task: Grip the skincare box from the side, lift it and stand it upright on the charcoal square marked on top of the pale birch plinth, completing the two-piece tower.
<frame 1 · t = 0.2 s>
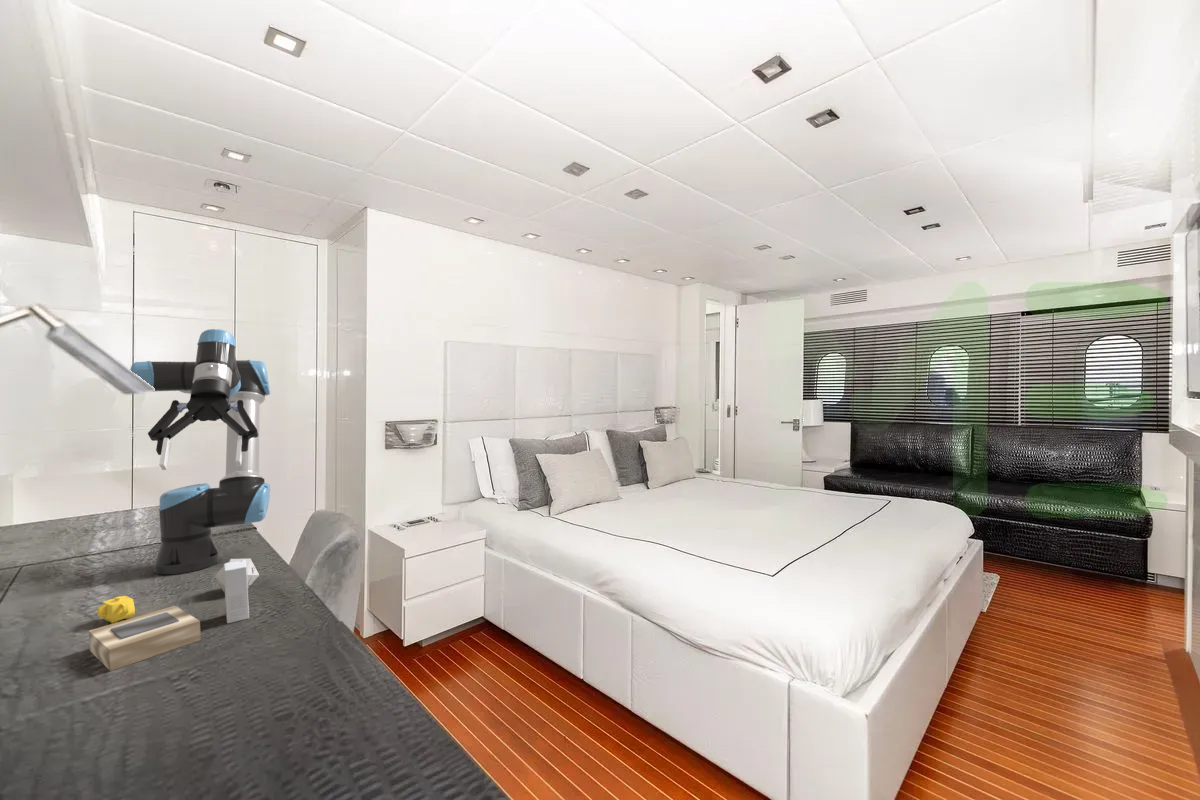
hand: (201, 465, 117), 35 cm above the table, tool tilted 35°, fingers open, 13 cm apart
teapot: (115, 621, 119), on the table
plinth: (146, 645, 107), on the table
skincare box: (237, 617, 119), on the table
die: (238, 590, 135), on the table
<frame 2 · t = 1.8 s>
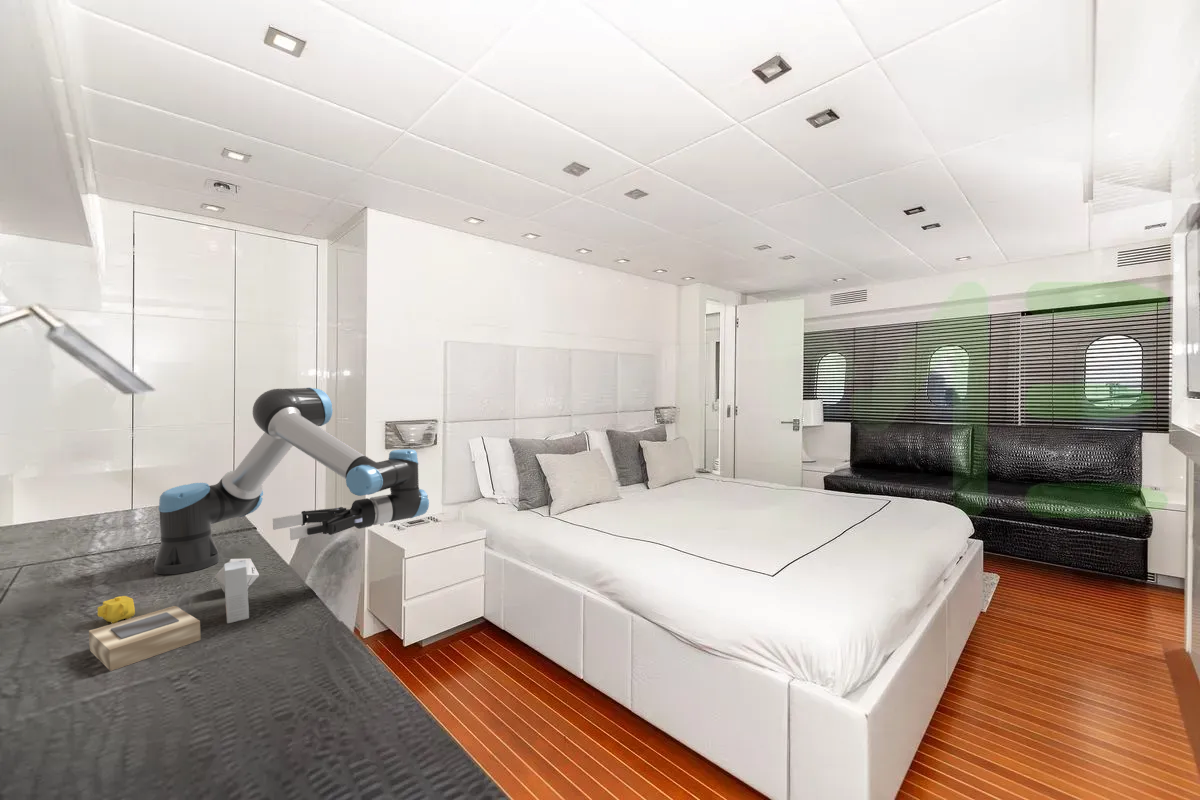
hand: (281, 529, 126), 18 cm above the table, tool horizontal, fingers open, 13 cm apart
nothing on the table moved.
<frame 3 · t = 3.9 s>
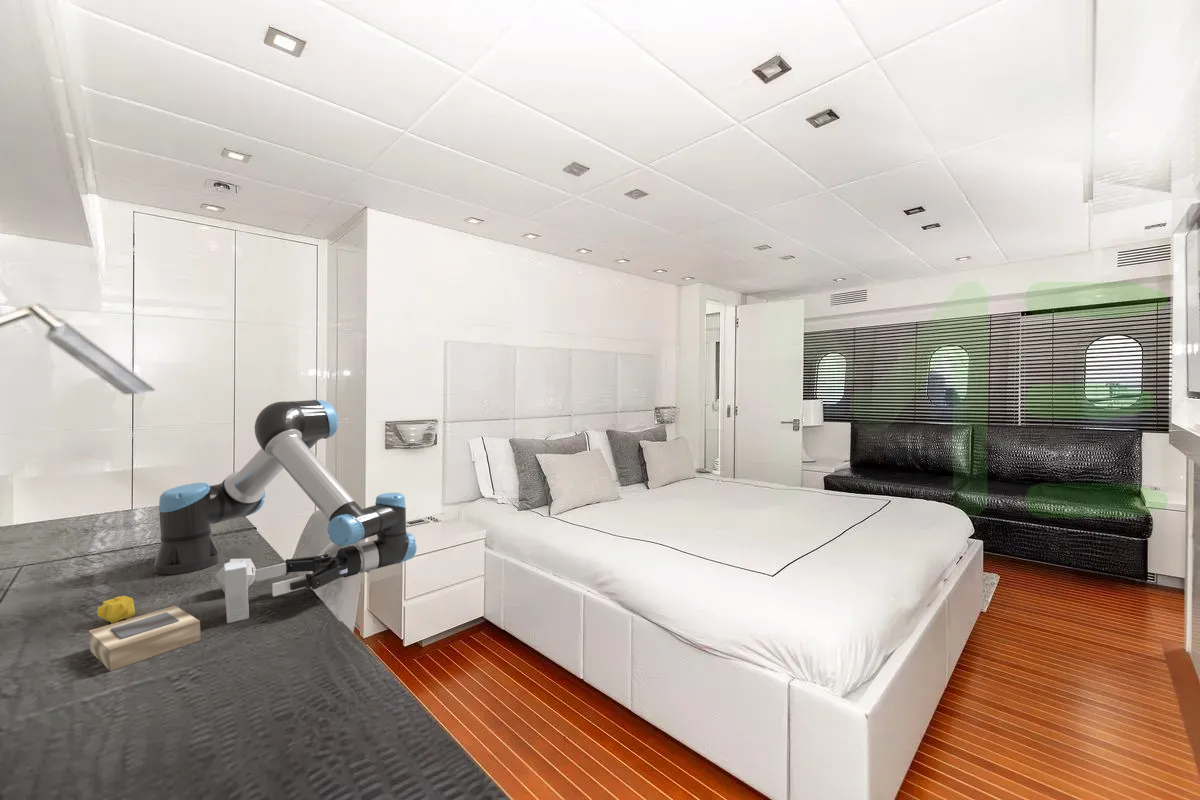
hand: (263, 582, 123), 6 cm above the table, tool horizontal, fingers open, 13 cm apart
nothing on the table moved.
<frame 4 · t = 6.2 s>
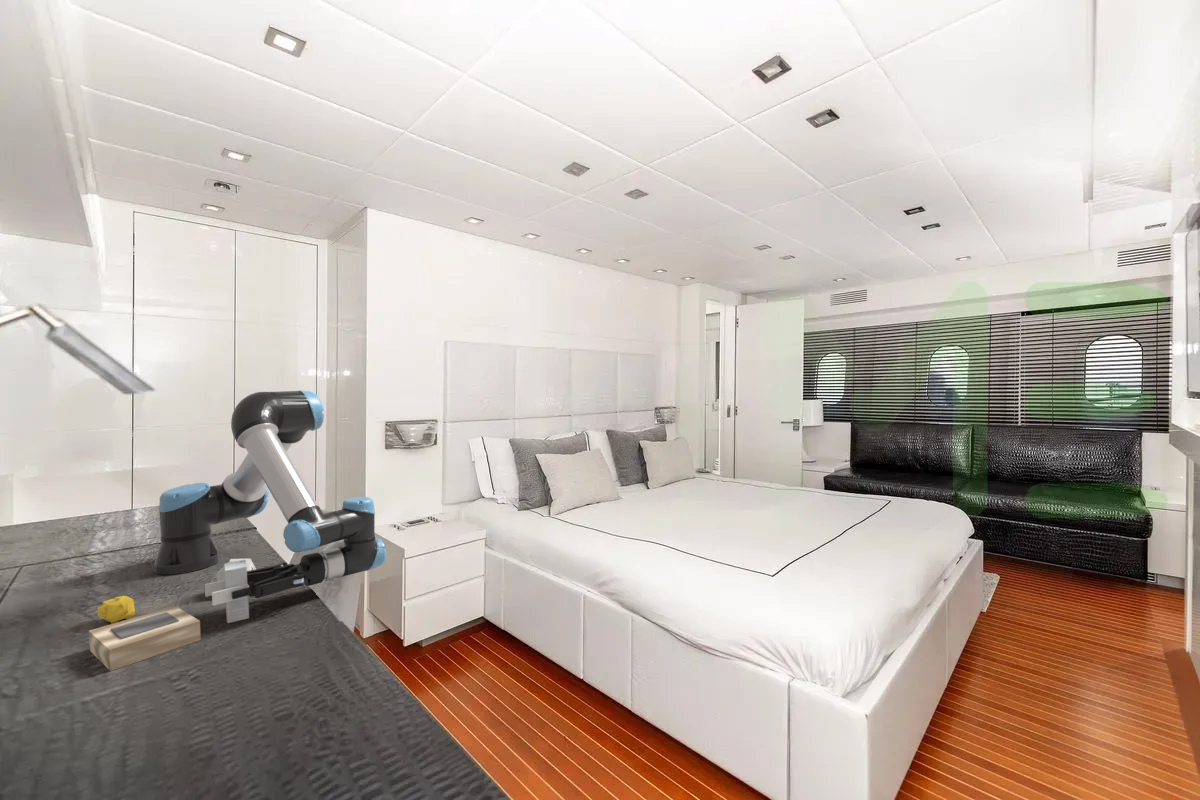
hand: (209, 594, 116), 7 cm above the table, tool horizontal, fingers closed on skincare box, 6 cm apart
skincare box: (237, 617, 119), on the table, touching gripper
everything else where it was.
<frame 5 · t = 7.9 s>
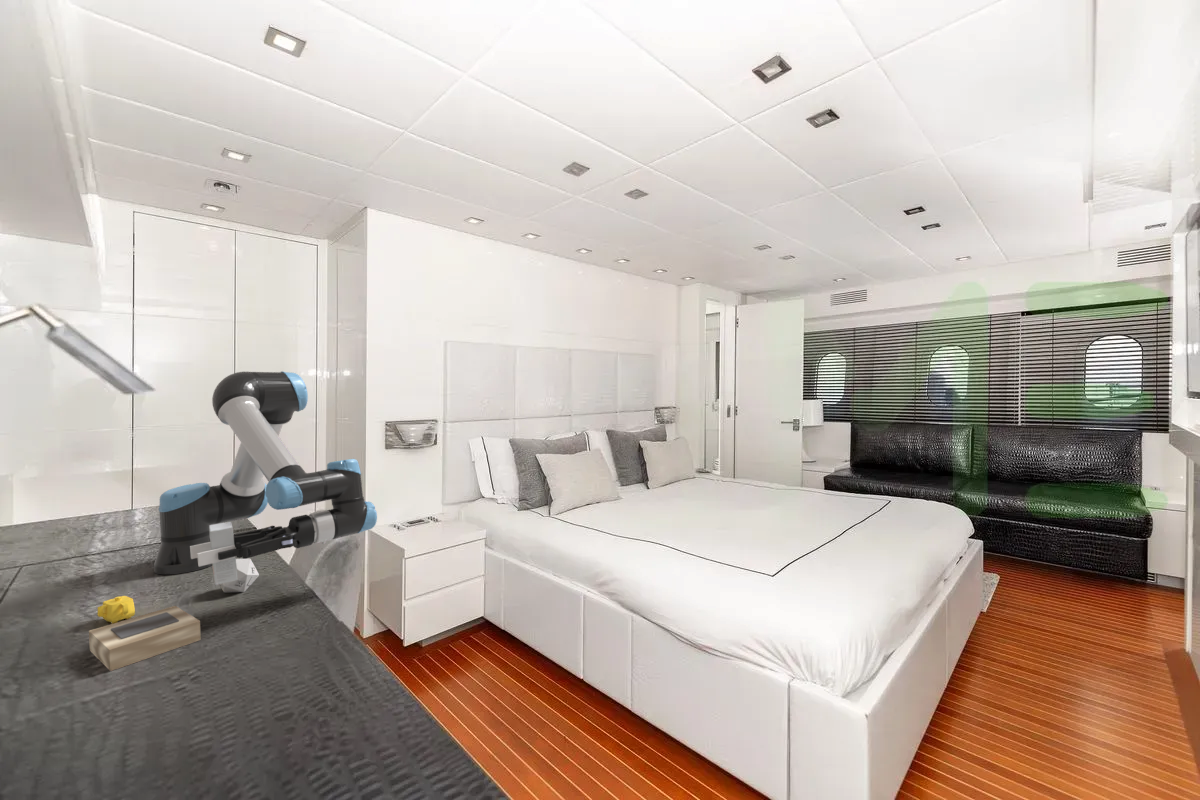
hand: (194, 556, 112), 16 cm above the table, tool horizontal, fingers closed on skincare box, 6 cm apart
skincare box: (225, 579, 117), point 9 cm above the table, touching gripper
everything else where it was.
when the fingers open (13 cm above the table, at t = 10.0 s): skincare box drops 1 cm, resting on plinth.
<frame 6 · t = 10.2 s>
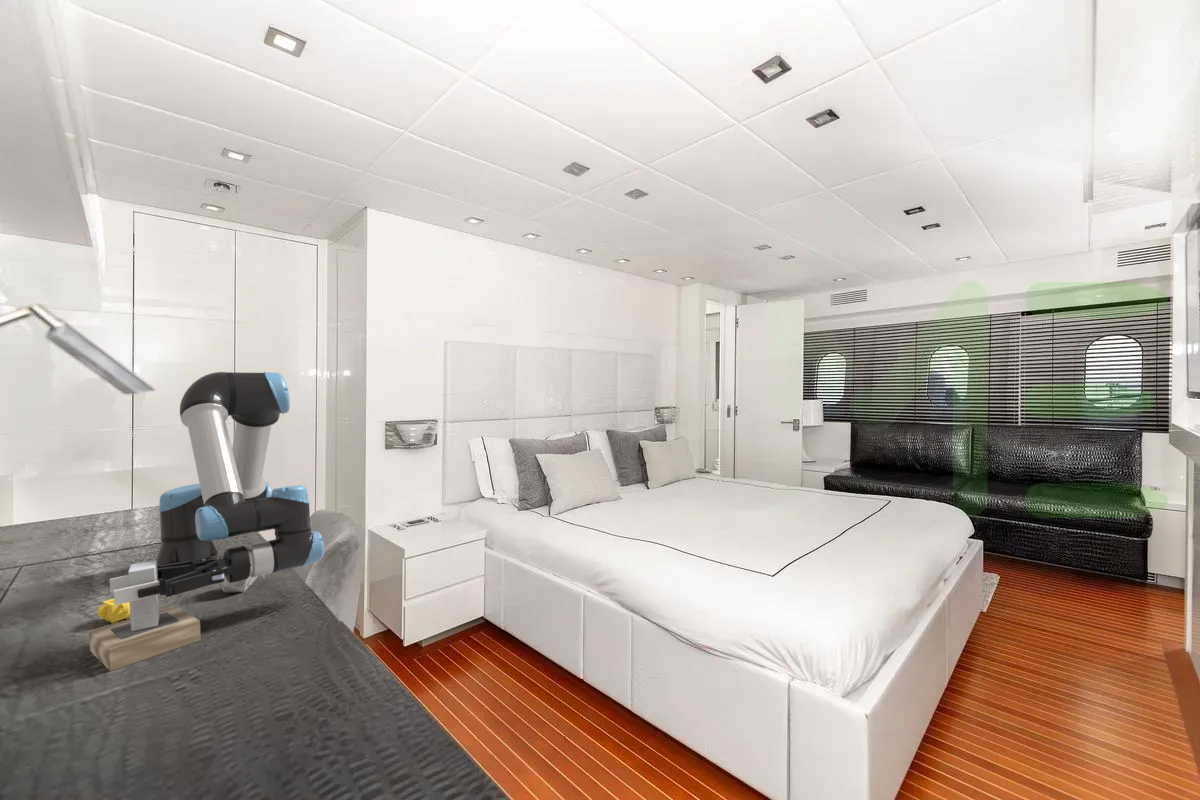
hand: (112, 591, 103), 12 cm above the table, tool horizontal, fingers open, 8 cm apart
skincare box: (145, 625, 107), point 4 cm above the table, touching plinth
everything else where it was.
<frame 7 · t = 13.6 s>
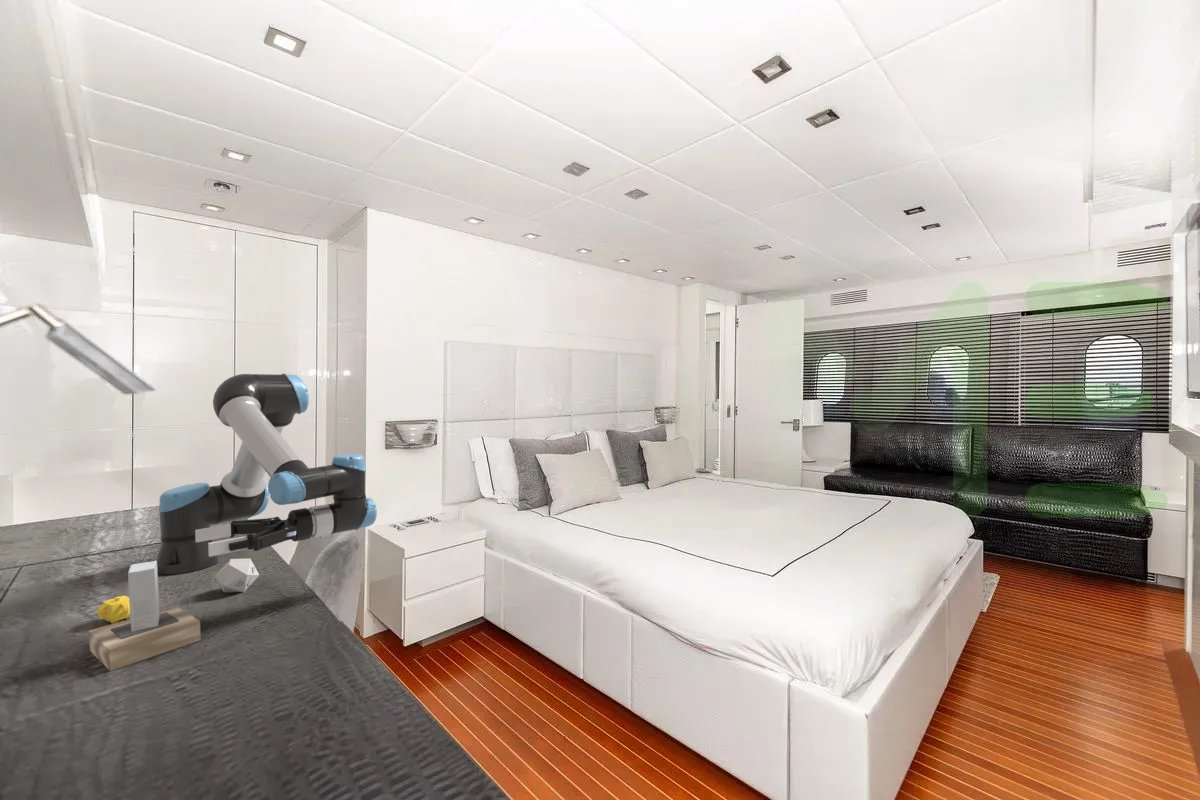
hand: (201, 542, 113), 19 cm above the table, tool horizontal, fingers open, 13 cm apart
nothing on the table moved.
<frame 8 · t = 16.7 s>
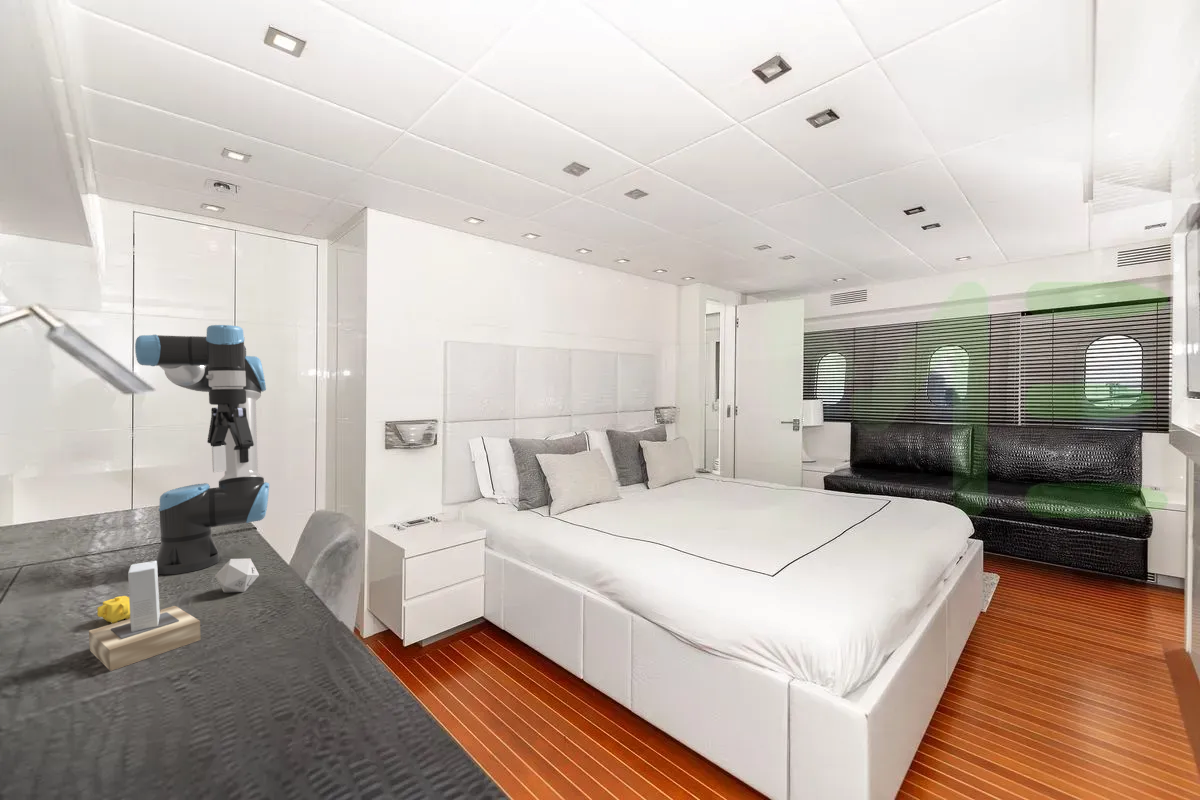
hand: (230, 473, 131), 31 cm above the table, tool pointing down, fingers open, 13 cm apart
nothing on the table moved.
at the end: skincare box inside the target area on the plinth (0.1 cm from its centre), point 4.1 cm above the plinth's base; skincare box tilted 0°; the gripper is holding nothing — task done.
